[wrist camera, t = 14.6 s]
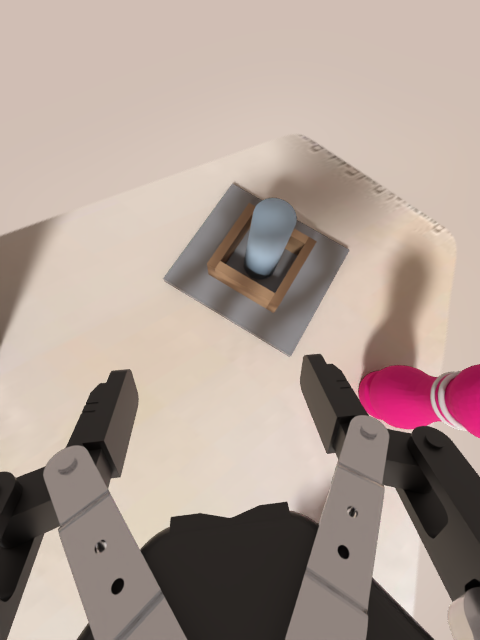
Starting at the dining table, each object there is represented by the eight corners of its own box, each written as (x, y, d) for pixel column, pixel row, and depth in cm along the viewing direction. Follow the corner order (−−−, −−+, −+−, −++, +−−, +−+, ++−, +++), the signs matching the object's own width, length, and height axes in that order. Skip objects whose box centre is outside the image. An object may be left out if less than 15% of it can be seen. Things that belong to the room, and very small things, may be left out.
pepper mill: (376, 356, 38) (539, 327, 18) (417, 394, 37) (633, 407, 18) (343, 394, 36) (481, 407, 17) (385, 435, 36) (581, 498, 16)
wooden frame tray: (164, 281, 38) (157, 268, 34) (232, 188, 42) (233, 165, 38) (289, 356, 37) (298, 352, 33) (346, 253, 41) (361, 237, 37)
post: (237, 268, 38) (244, 221, 28) (254, 244, 39) (267, 190, 29) (265, 285, 38) (282, 244, 27) (281, 260, 39) (304, 212, 28)
